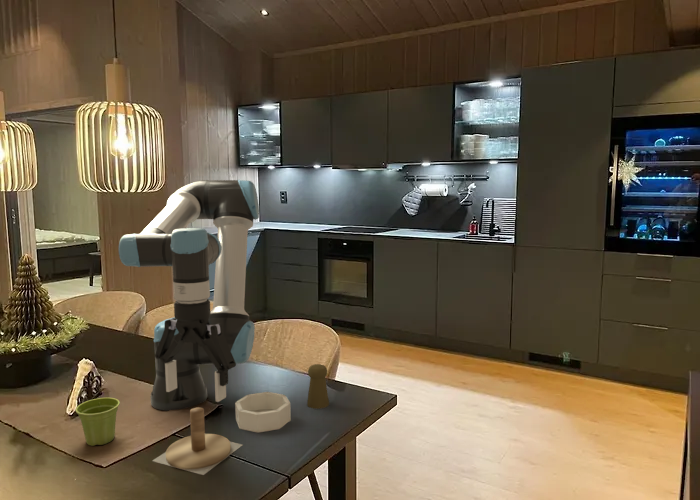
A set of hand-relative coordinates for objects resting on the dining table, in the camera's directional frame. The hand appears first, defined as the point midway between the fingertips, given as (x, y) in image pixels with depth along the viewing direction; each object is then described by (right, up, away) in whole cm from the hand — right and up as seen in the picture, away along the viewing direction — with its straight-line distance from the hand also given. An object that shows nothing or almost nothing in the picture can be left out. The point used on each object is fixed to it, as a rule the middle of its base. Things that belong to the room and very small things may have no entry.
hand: (195, 394), depth 119 cm
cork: (+25, -11, +29) cm, 40 cm away
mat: (0, -14, +2) cm, 14 cm away
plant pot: (-25, -14, +9) cm, 30 cm away
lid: (0, -14, +2) cm, 14 cm away
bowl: (+12, -12, +19) cm, 25 cm away
